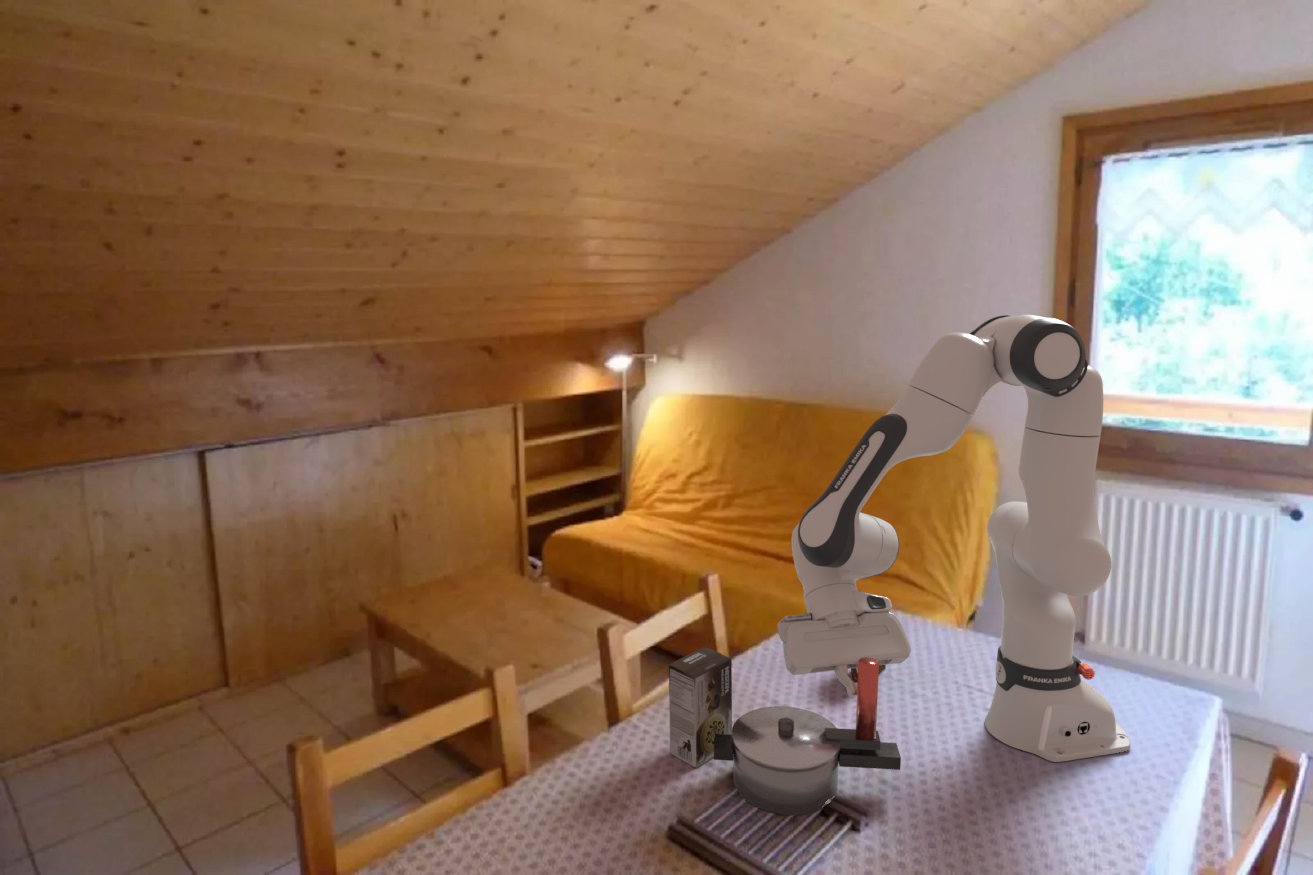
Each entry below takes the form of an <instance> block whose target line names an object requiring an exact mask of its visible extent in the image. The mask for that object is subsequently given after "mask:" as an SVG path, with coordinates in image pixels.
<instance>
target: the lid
mask: <svg viewBox="0 0 1313 875" xmlns="http://www.w3.org/2000/svg"><path fill="white" fill-rule="evenodd" d="M878 676H879V662H878V661H877V660H876V659H873V658H868V657H865V658H860V659H859V660H858V684H857V697H856V711H855V712H856V714H855V715H856V717H855V729H853V728H839V727H838V728H837V727H836V726H835V724H834V723H833V722H832V721H830V720H829V719H828V718H826V717H824V716H822V715H820V714H819V713H816V712H814V711H810V710H807V709H804V708H799V707H795V706H794V707H793V706H786V705H785V706H784V705H783V706H780V705H779V706H777V705H776V706H765V707H759V708H756V709H753V710H750V711H748V712H746V713H744V714H743V715H741V716H739V717H738V719H736V720H735V721H734V723H733V724H732V742H733V745H734V747H735V748H736V750H737V751H738V752H739V753H740V754H741V755H742V756H743V757H745V758H746V759H748V760H749V761H751V762H753V763H755V764H758V765H760V766H763V767H766V768H770V769H775V770H781V771H806V770H812V769H816V768H819V767H822V766H824V765H826V764H828V763H830V762H831V761H833V760H834V759H835V758H836V757H837V755H838V754H839V752H840V749H841V748H847V749H865V750H880V743H881V742H882V741H881V738H880V734H879V730H877V720H878V717H877V716H878V699H879V698H878V696H879V677H880V676H879V677H878Z"/></svg>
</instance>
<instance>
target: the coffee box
mask: <svg viewBox="0 0 1313 875" xmlns="http://www.w3.org/2000/svg"><path fill="white" fill-rule="evenodd" d="M732 670H733V667H732V657H728V656H726V655H724V654H722V653H721V652H718V651H717V650H715V649H714V650H713V649H712V648H708V647H706V646H703V647H701V648H699V649H697V650H694V651H693V652H691V653H689V654H687V655H685V656H683V657H681V658H679V659H676V660H675V661H673V662H671V663H669V664H668V690H669V692H668V696H669V697H668V698H669V700H668V702H669V708H668V709H669V753H670V755H673V756H674V757H676V758H678V759H680V760H681V761H683V762H685V763H686V764H688V765H690V766H692V767H694V768H697V769H698V768H699V767H700V766H702V765H704V764H706V763H707V762H708V761H710V760H712V759H714V741H715V734H729V735H732V728H733V717H732V716H733V709H732V708H733V696H732V695H733V694H732V692H733V690H732V689H733V688H732V687H733V686H732V684H733V682H732V681H733V678H732V677H733V672H732Z"/></svg>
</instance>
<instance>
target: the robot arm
mask: <svg viewBox="0 0 1313 875" xmlns="http://www.w3.org/2000/svg"><path fill="white" fill-rule="evenodd" d="M1086 358H1087V353H1086V348H1085V344H1084V340H1083V338H1082V336H1081V335H1080V333H1079V332H1078V331H1077V329H1076V328H1074V327H1073V326H1072V325H1070V324H1068V323H1067V322H1065V321H1063V320H1060V319H1057V318H1054V317H1044V316H1040V315H1034V314H1020V315H1008V314H1007V315H999V316H994V317H991V318H989V319H988V320H985V321H984V322H982V323H981V324H980V325H978V326H977V327H976V328H975V329H974V330H973V331H971V332H969V333H967V332H949V333H946V334H944V335H942V336H940V338H938V339H937V341H936V342H935V343H934V345H932V347H931V348H930V350H929V351H928V352H927V353H926V355H925V356H924V357H923V359H922V360H921V362H920V363H919V365H917V366H918V367H917V368H916V369H915V371H914V373H913V375H912V376H911V378H910V380H909V382H908V383H907V386H906V387H905V389H904V391H903V392H902V394H901V396H900V397H899V399H897V401H896V402H895V403H894V405H893V406H892V407H891V408H890V410H889V411H887V413H885V414H884V415H883V416H881V417H879V418H878V419H876V420H875V421H873V423H872V424H871V425H870V427H868V429H867V430H866V431H865V433H863V435H862V436H861V438H860V439H859V441H858V443H856V445H855V447H854V448H853V449H852V451H851V453H850V454H849V455H848V457H847V459H846V460H845V462H844V463H843V464H842V466H841V467H840V469H839V470H838V472H837V473H836V474H835V477H833V479H832V480H831V483H829V485H828V487H827V488H826V489H825V490H824V491H823V492H822V494H821V495H820V496H819V497H818V498H817V499H816V500H815V501H814V502H813V503H811V505H810V506H809V507H808V508H807V509H806V510H805V512H804V513H803V515H802V517H801V518H800V521H799V523H798V524H796V526H795V527H794V529H793V531H792V533H791V542H790V543H791V551H792V553H791V554H792V557H793V558H792V559H793V561H794V562H793V563H794V568H795V571H796V574H797V577H798V580H799V581H800V583H801V584H802V587H803V600H804V604H805V608H806V610H807V613H803V614H802V613H801V614H798V615H792V614H791V615H790V614H789V615H785V616H784V617H783V618H782V619H780V620H779V622H778V623H777V631H778V636H779V639H780V640H781V641H782V648H783V655H784V663H785V666H786V671H788V672H789V673H790V674H791V675H793V676H796V675H805V674H806V675H807V674H814V673H815V674H816V673H824V672H832V671H834V675H835V678H836V679H837V680H838V681H839V682H840V683H841V685H843V686H844V687H845V689H846V692H847V696H848V698H857V684H858V682H854V681H853V679H852V678H850V677H849V675H848V674H847V673H848V672H849V669H850V670H851V669H852V668H856V670H857V673H858V660H859V659H860V658H865V657H868V658H873V659H876V660H877V661H878V662H879V665H886V666H887V665H894V664H902V663H904V662H905V661H906V660H907V659H908V658H909V657H910V655H911V651H912V648H911V645H910V644H911V643H910V641H909V638H908V636H907V633H906V631H905V629H904V627H903V624H902V622H901V620H900V619H899V618H898V617H897V615H895V614H894V613H893V612H891V610H892V608H893V604H892V601H891V599H890V598H888V597H886V596H883V595H882V596H881V595H877V594H872V593H868V592H864V591H860V590H858V588H857V581H858V580H862V579H863V580H864V579H868V578H872V577H875V576H877V575H881V574H883V573H886V572H888V571H889V570H890V568H892V567H893V566H894V564H895V562H896V561H897V558H898V555H899V553H900V552H899V551H900V538H899V535H898V532H897V531H896V529H895V527H894V526H893V525H892V524H891V523H890V522H888V521H886V520H884V519H882V518H879V517H876V516H874V515H871V514H867V513H864V512H861V511H862V509H863V508H864V506H865V504H866V503H867V502H868V500H869V498H870V497H871V496H872V494H873V492H874V491H875V490H876V488H877V487H878V486H879V484H880V483H881V481H882V480H883V478H884V477H885V475H886V474H887V473H888V472H889V471H890V470H891V469H892V468H893V467H894V466H896V465H897V464H900V463H902V462H903V461H907V460H909V459H912V458H918V457H929V456H934V455H938V454H941V453H944V452H946V451H948V450H950V449H951V448H953V446H955V444H956V443H957V442H958V441H959V440H960V439H961V437H962V436H963V434H964V433H965V431H966V430H967V428H968V427H969V425H970V423H971V421H972V419H973V417H974V415H975V413H976V411H977V409H978V407H979V405H980V403H981V401H982V398H983V397H984V396H985V395H986V394H987V393H988V391H990V389H992V388H993V387H994V386H996V385H997V384H998V383H1004V384H1007V385H1010V386H1016V387H1023V388H1024V390H1025V392H1026V396H1027V405H1028V407H1027V413H1026V418H1025V424H1024V428H1023V429H1024V430H1023V436H1022V444H1021V450H1020V457H1019V464H1018V475H1019V479H1020V482H1021V484H1022V486H1023V488H1024V493H1025V499H1026V501H1018V500H1017V501H1015V500H1014V501H1013V500H1012V501H1008V502H1005V503H1002V504H1001V505H999V506H998V507H997V508H996V509H994V511H993V512H992V513H991V515H990V516H989V519H988V521H987V527H986V531H987V532H986V533H987V537H988V539H989V541H990V543H991V544H990V545H991V546H992V549H993V552H994V556H995V562H996V567H997V574H998V580H999V586H1000V593H1001V600H1002V602H1001V603H1002V622H1001V634H1000V636H1001V637H1000V645H999V646H998V648H997V656H996V662H995V682H996V683H995V688H994V693H993V698H992V700H991V704H990V708H989V710H988V712H987V714H986V717H985V719H984V726H985V728H986V730H987V731H988V732H989V734H991V735H992V736H993V737H994V738H995V739H997V740H998V741H1000V742H1002V743H1003V744H1005V745H1008V746H1010V747H1011V748H1014V749H1018V750H1020V751H1024V752H1028V753H1031V754H1033V755H1036V756H1039V757H1041V758H1043V759H1044V760H1047V761H1049V762H1052V763H1053V762H1054V763H1061V762H1069V761H1073V760H1081V759H1086V758H1093V757H1100V756H1105V755H1106V756H1107V755H1112V754H1118V753H1119V752H1120V753H1125V752H1124V751H1126V752H1128V751H1127V750H1129V751H1130V750H1131V740H1130V738H1129V736H1128V734H1127V733H1126V732H1125V730H1124V729H1123V727H1121V726H1120V725H1119V724H1118V723H1117V722H1116V716H1115V712H1114V710H1113V707H1112V705H1111V704H1110V702H1109V700H1107V699H1106V697H1104V695H1103V694H1102V693H1101V692H1099V691H1098V690H1097V689H1096V688H1094V687H1093V686H1092V685H1090V683H1088V682H1087V681H1085V680H1092V679H1093V678H1094V677H1095V675H1096V671H1095V670H1094V669H1093V668H1092V667H1091V666H1090V665H1088V664H1087V663H1082V661H1081V660H1080V659H1079V658H1078V657H1076V656H1074V655H1073V650H1074V643H1075V642H1074V641H1075V640H1074V639H1075V631H1076V630H1075V629H1076V615H1075V612H1074V608H1073V606H1072V605H1071V602H1070V600H1069V597H1068V596H1070V597H1085V596H1089V595H1092V594H1094V593H1095V592H1096V591H1098V590H1099V589H1101V588H1102V587H1103V586H1104V585H1105V583H1106V582H1107V580H1108V578H1109V576H1110V574H1111V570H1112V558H1111V554H1110V552H1109V550H1108V548H1107V547H1106V544H1105V542H1104V540H1103V538H1102V535H1101V530H1100V526H1099V525H1100V524H1099V520H1098V514H1097V504H1096V496H1095V476H1096V470H1097V462H1098V454H1099V448H1100V441H1101V434H1102V428H1103V418H1104V387H1103V386H1104V383H1103V382H1104V381H1103V378H1102V375H1101V374H1100V373H1099V371H1098V370H1097V369H1096V368H1094V367H1093V366H1091V365H1090V364H1088V361H1087V359H1086ZM1081 676H1082V677H1083V678H1084V679H1085V680H1084V679H1083V678H1082V677H1081ZM1120 753H1119V754H1120Z"/></svg>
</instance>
